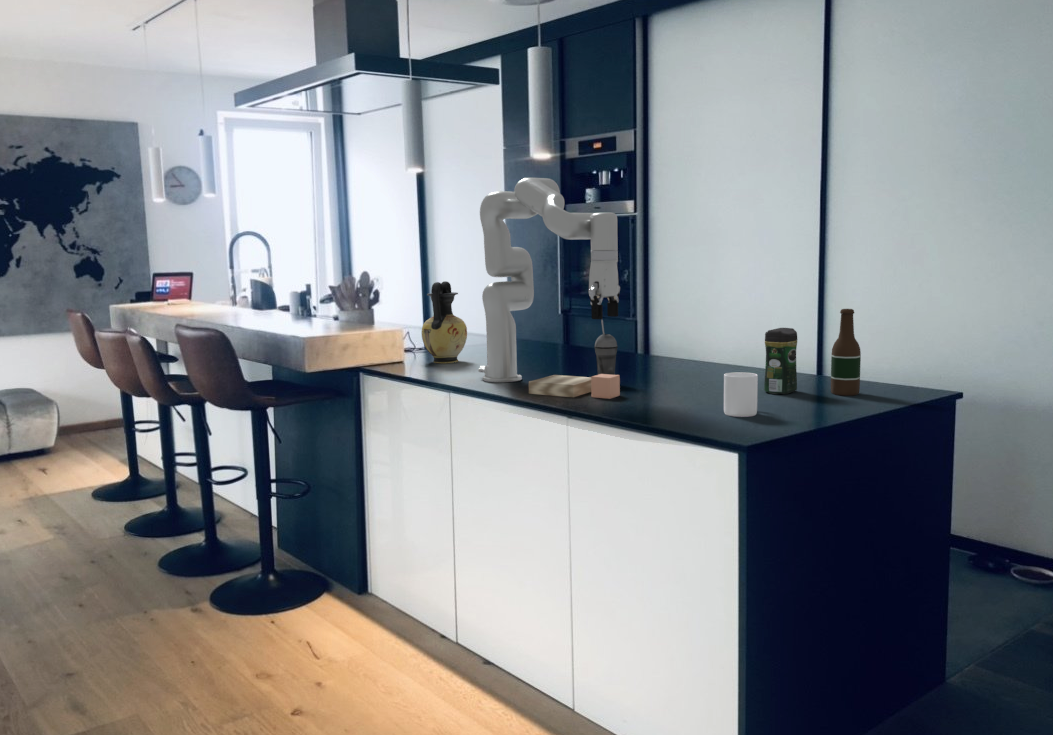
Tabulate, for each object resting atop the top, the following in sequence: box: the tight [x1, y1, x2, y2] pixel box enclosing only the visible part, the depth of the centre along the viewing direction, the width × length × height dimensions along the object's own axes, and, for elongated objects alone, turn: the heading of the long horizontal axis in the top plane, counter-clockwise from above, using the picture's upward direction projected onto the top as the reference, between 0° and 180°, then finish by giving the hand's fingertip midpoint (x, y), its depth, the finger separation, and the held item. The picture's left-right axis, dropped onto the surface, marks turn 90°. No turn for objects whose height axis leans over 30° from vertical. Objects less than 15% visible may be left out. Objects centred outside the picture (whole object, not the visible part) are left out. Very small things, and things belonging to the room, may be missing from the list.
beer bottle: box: [830, 308, 862, 397], centre depth 260 cm, size 8×8×24 cm
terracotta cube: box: [590, 374, 621, 400], centre depth 265 cm, size 6×6×6 cm
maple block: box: [528, 374, 592, 398], centre depth 275 cm, size 15×15×4 cm
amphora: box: [421, 281, 468, 364], centre depth 344 cm, size 18×17×30 cm
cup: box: [723, 371, 759, 418], centre depth 236 cm, size 8×12×10 cm
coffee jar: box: [763, 327, 798, 395], centre depth 265 cm, size 10×8×19 cm
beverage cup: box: [593, 319, 618, 375], centre depth 286 cm, size 7×7×20 cm
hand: (605, 317), depth 262 cm, fingers open, 9 cm apart
